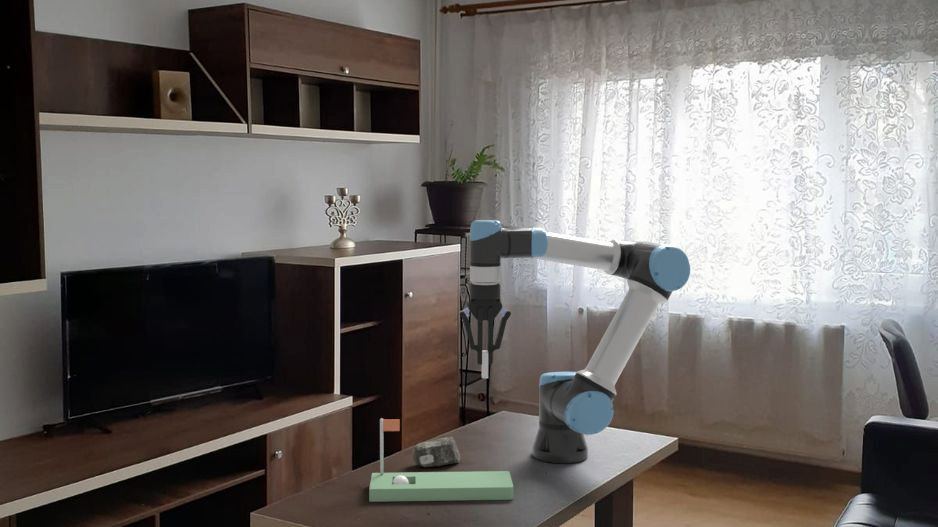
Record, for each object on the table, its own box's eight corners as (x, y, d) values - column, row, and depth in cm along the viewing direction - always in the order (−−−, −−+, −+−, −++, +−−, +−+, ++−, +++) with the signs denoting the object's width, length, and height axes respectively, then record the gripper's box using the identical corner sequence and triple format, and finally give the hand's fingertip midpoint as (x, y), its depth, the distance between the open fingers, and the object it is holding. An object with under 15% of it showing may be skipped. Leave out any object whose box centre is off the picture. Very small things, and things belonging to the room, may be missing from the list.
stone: (434, 486, 241) (415, 454, 239) (422, 483, 247) (404, 451, 246) (473, 456, 247) (456, 424, 246) (461, 453, 254) (444, 422, 252)
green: (509, 482, 232) (509, 416, 230) (513, 499, 220) (514, 429, 218) (372, 484, 230) (371, 417, 229) (369, 501, 218) (368, 430, 217)
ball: (393, 472, 226) (391, 488, 226) (392, 477, 222) (391, 494, 222) (409, 473, 226) (408, 489, 226) (409, 478, 222) (408, 495, 222)
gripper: (510, 281, 233) (509, 373, 235) (458, 281, 232) (458, 374, 235) (513, 284, 225) (512, 380, 228) (459, 284, 225) (459, 380, 227)
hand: (484, 377), depth 231 cm, fingers closed
